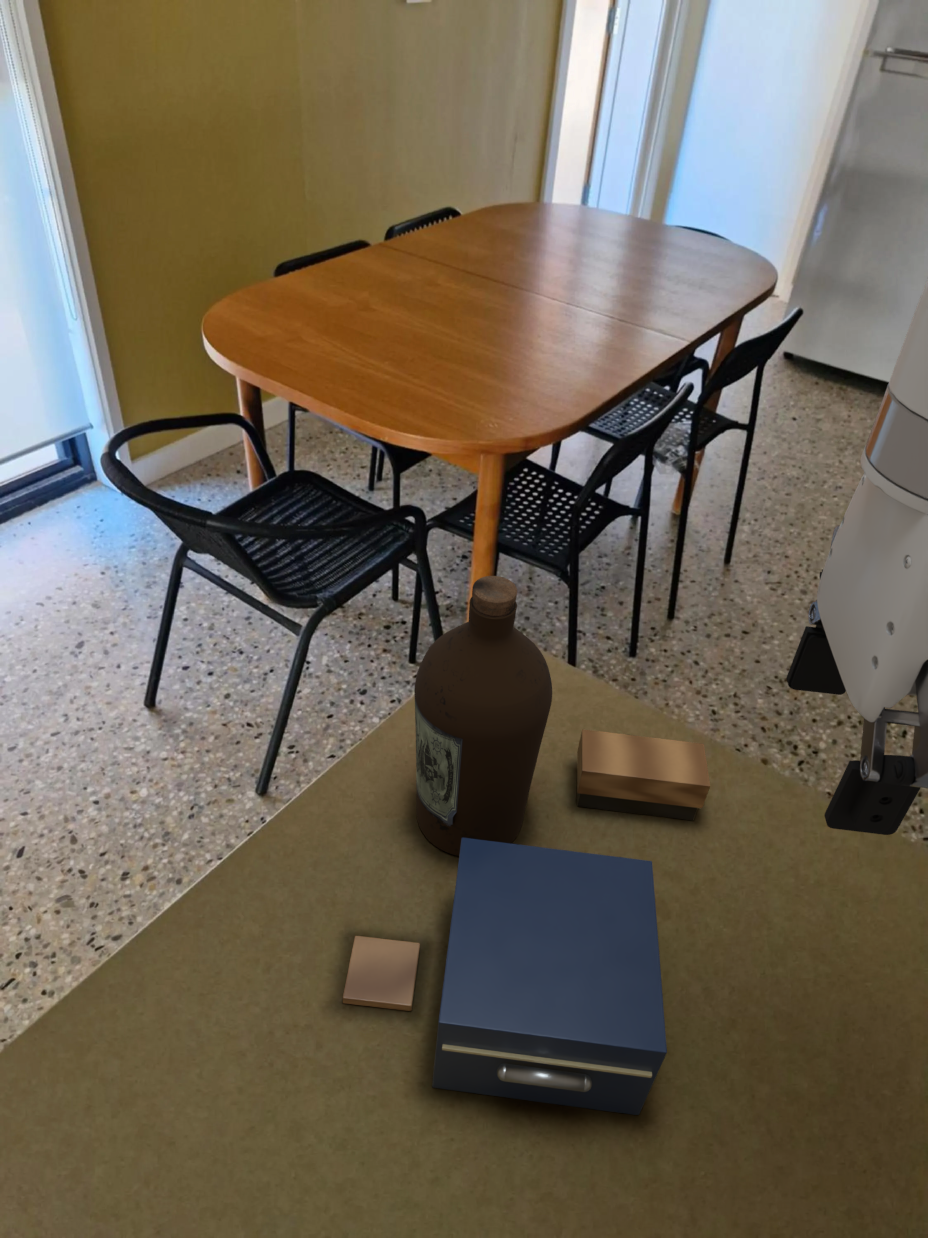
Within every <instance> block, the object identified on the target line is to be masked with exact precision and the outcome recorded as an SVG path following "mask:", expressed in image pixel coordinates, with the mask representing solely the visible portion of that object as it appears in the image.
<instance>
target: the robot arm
mask: <svg viewBox="0 0 928 1238" xmlns="http://www.w3.org/2000/svg"><path fill="white" fill-rule="evenodd" d="M880 402H881V403H880V405H879V408H878V411H877V413H876V416H875V419H874V422H873V425H872V427H871V429H870V432H869V435H868V438H867V439H866V443H865V445H864V448H863V450H862V453H861V455H860V460H859V463H860V467H861V470H862V471H863V474H862V476H861V478H860V480H859V482H858V484H857V487H856V489H855V491H854V493H853V495H852V497H851V499H850V502H849V504H848V506H847V508H846V510H845V513H844V515H843V518H842V520H841V522H840V524H837V525H835V527H834V529H833V532H832V537H831V543H830V548H829V551H828V555H827V557H826V560H825V562H824V566H823V567H822V569H821V571H820V572H819V577H818V578H819V582H818V587H817V592H816V600H814V601H813V602H812V603H811V604H810V606H809V609H808V614H807V615H808V616H807V617H808V618H807V619H808V623H809V625H812V626H807V625H806V626H805V627H804V630H803V632H802V635H801V638H800V640H799V642H798V646H797V647H796V648H797V649H796V650H795V654H794V656H793V659H792V662H791V665H790V667H789V669H788V672H787V675H786V678H785V679H786V683H787V685H788V687H789V688H790V689H791V690H795V691H802V692H810V693H820V694H827V695H828V694H829V695H836V696H837V695H838V696H841V695H844V694H845V693H846V694H847V696H848V699H849V701H850V703H851V705H852V706H853V708H854V709H855V710H856V711H857V713H858V714H859V715H860V716H861V717H862V718H863V726H862V733H861V735H862V736H861V745H860V746H861V747H860V755H859V759H856V760H849V761H848V763H847V765H846V767H845V769H844V772H843V773H842V776H841V778H840V780H839V782H838V784H837V787H836V789H835V791H834V793H833V795H832V798H831V800H830V801H829V804H828V806H827V808H826V810H825V812H824V819H825V822H826V823H825V824H826V826H827V827H828V828H830V829H833V830H840V831H850V832H857V833H865V834H866V833H867V834H873V835H874V834H875V835H883V836H890V835H893V834H895V833H896V832H897V831H898V830H899V828H900V826H901V824H902V823H903V820H904V819H905V817H906V816H907V813H908V812H909V809H910V808H911V806H912V805H913V802H914V801H915V800H916V797H917V795H918V793H919V792H920V790H921V789H928V277H927V278H926V281H925V284H924V287H923V289H922V292H921V295H920V297H919V299H918V303H917V305H916V308H915V311H914V312H913V315H912V319H911V321H910V324H909V327H908V329H907V332H906V334H905V338H904V340H903V343H902V346H901V348H900V351H899V353H898V357H897V359H896V361H895V364H894V368H893V370H892V373H891V375H890V378H889V381H888V384H887V386H886V389H885V391H884V395H883V397H882V400H881V401H880ZM906 696H912V697H913V696H914V697H916V704H917V711H909V710H901V709H893V707H895V706H896V705H897V704H898V703H899V702H900V701H902V700H903V699H904V698H905V697H906ZM888 724H893V725H900V726H901V725H902V726H908V727H909V726H910V727H914V729H913V739H912V748H911V749H912V750H911V754H910V755H899V754H885V753H886V752H885V750H886V740H887V729H888Z"/></svg>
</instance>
